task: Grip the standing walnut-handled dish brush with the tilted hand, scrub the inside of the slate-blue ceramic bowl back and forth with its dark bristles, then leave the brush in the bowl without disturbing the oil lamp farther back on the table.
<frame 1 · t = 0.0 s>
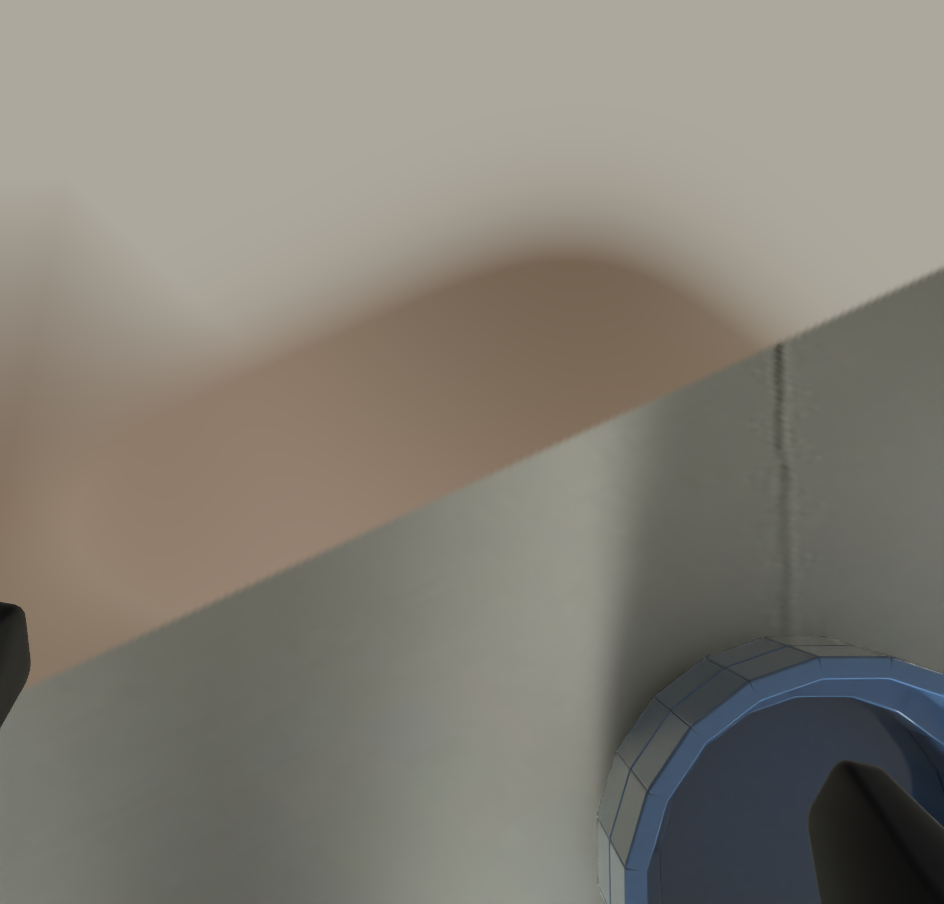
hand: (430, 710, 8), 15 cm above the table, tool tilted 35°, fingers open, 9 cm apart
bowl: (792, 837, 23), on the table
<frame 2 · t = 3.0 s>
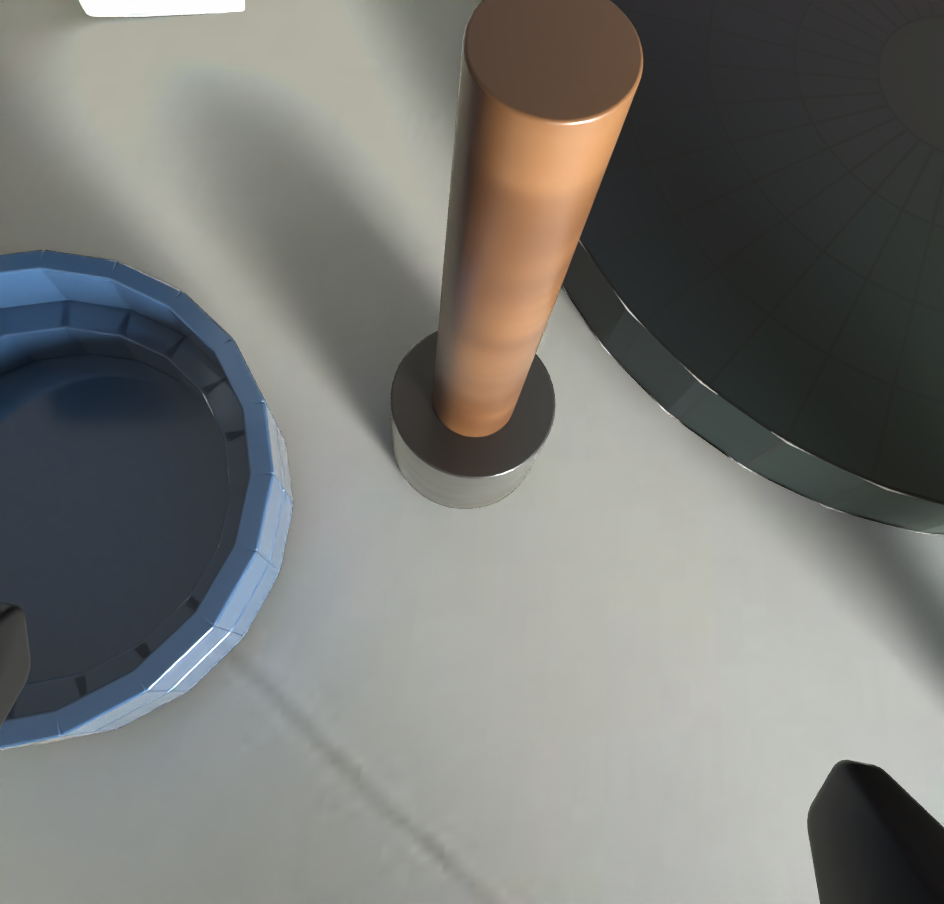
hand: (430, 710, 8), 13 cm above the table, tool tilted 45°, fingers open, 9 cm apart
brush: (464, 439, 23), on the table
disc: (906, 148, 28), on the table
bowl: (78, 513, 22), on the table
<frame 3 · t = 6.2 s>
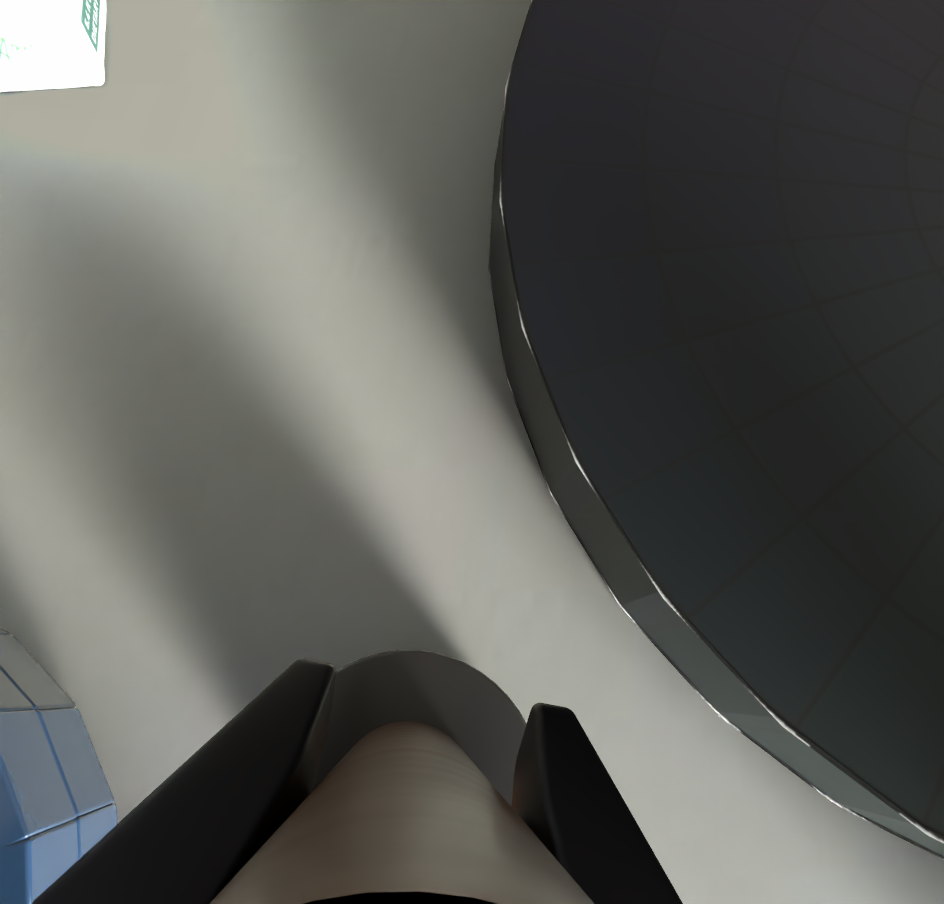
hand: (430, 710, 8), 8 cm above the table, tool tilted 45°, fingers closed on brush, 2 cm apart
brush: (405, 771, 15), on the table, touching gripper
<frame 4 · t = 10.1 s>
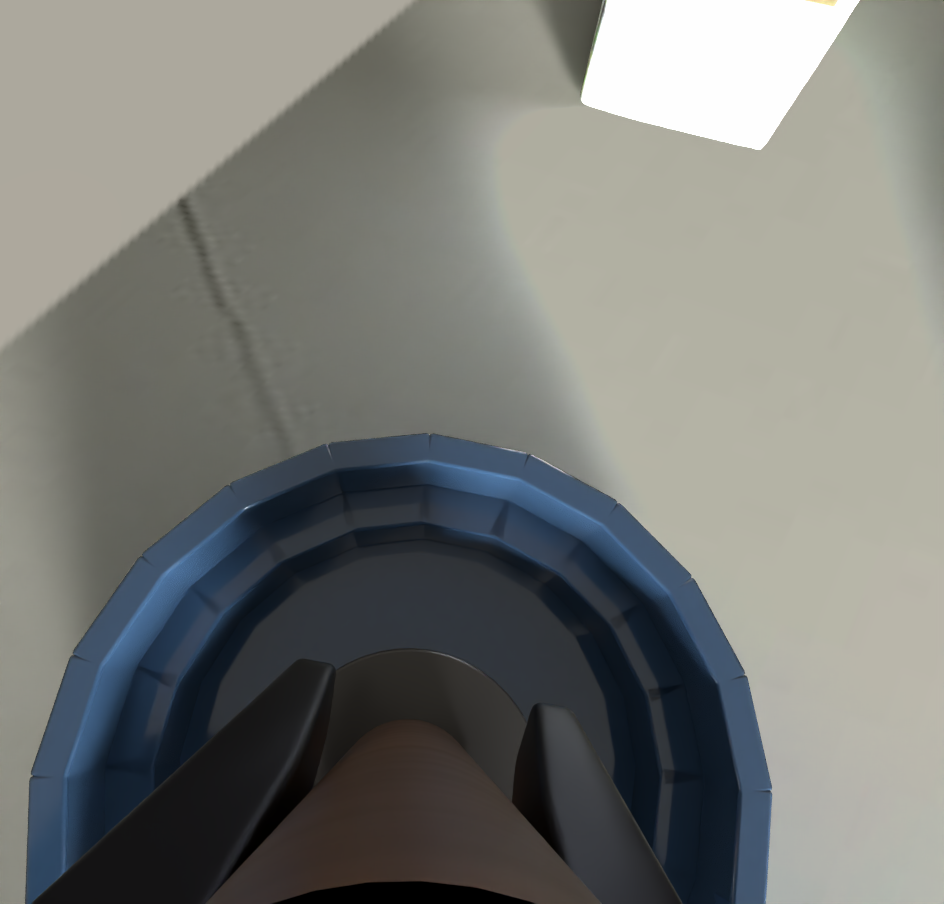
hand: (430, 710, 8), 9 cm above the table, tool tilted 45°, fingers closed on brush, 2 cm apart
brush: (406, 770, 15), point 1 cm above the table, touching gripper
bowl: (412, 760, 16), on the table
syrup box: (678, 62, 23), on the table
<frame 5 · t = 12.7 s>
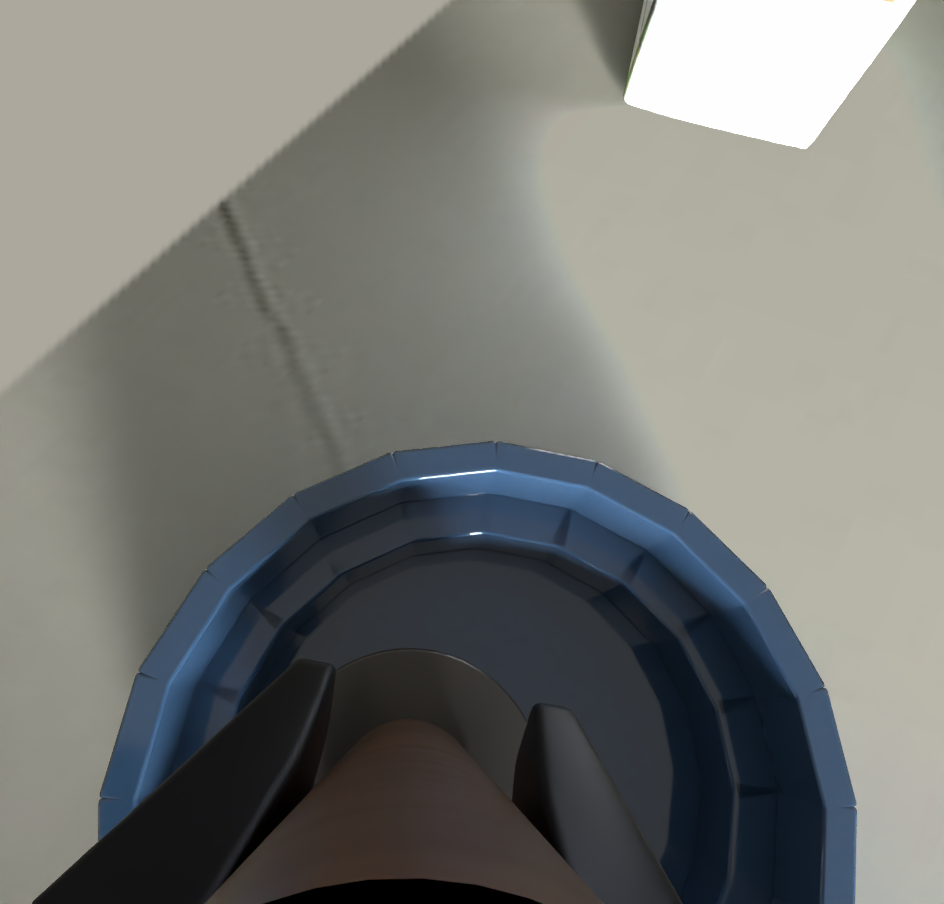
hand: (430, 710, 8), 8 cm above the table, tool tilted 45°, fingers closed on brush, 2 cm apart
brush: (406, 770, 15), point 1 cm above the table, touching gripper
bowl: (471, 774, 16), on the table
syrup box: (720, 60, 23), on the table
when the fingers open (8 cm above the table, at t = 14.5 s): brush stays where it is, resting on bowl.
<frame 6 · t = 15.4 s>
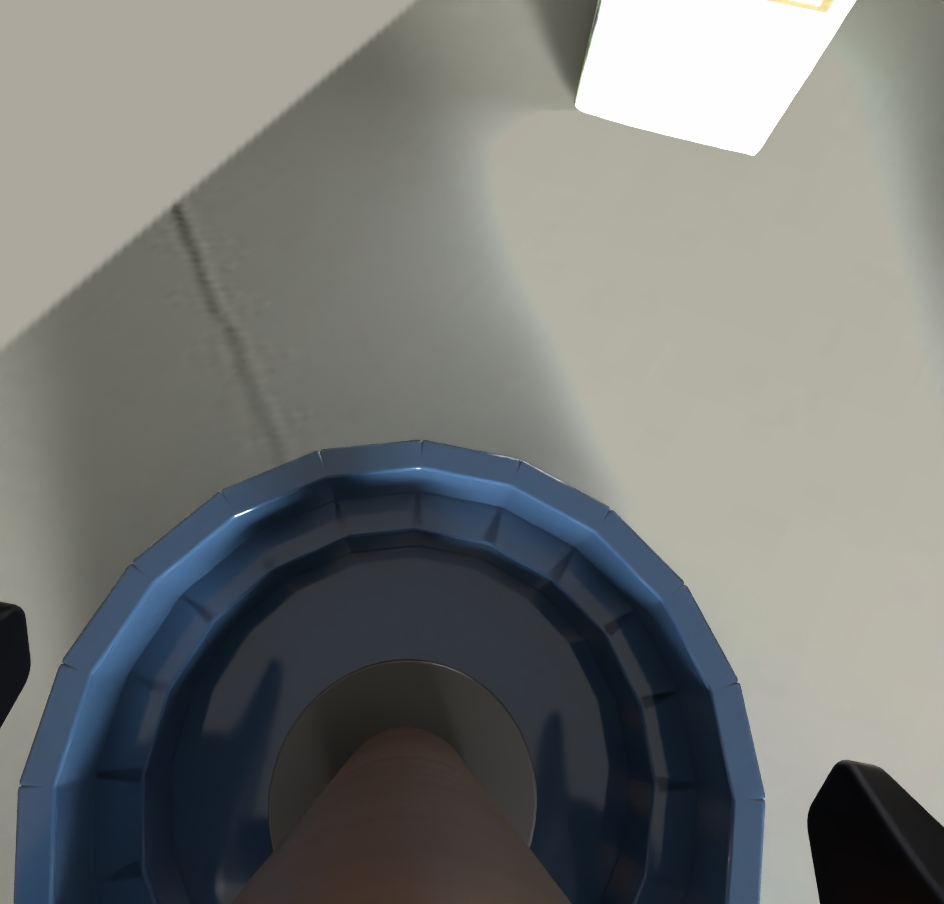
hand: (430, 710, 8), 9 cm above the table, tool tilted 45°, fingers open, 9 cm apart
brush: (405, 774, 16), point 1 cm above the table, touching bowl
bowl: (405, 768, 16), on the table
syrup box: (673, 68, 23), on the table
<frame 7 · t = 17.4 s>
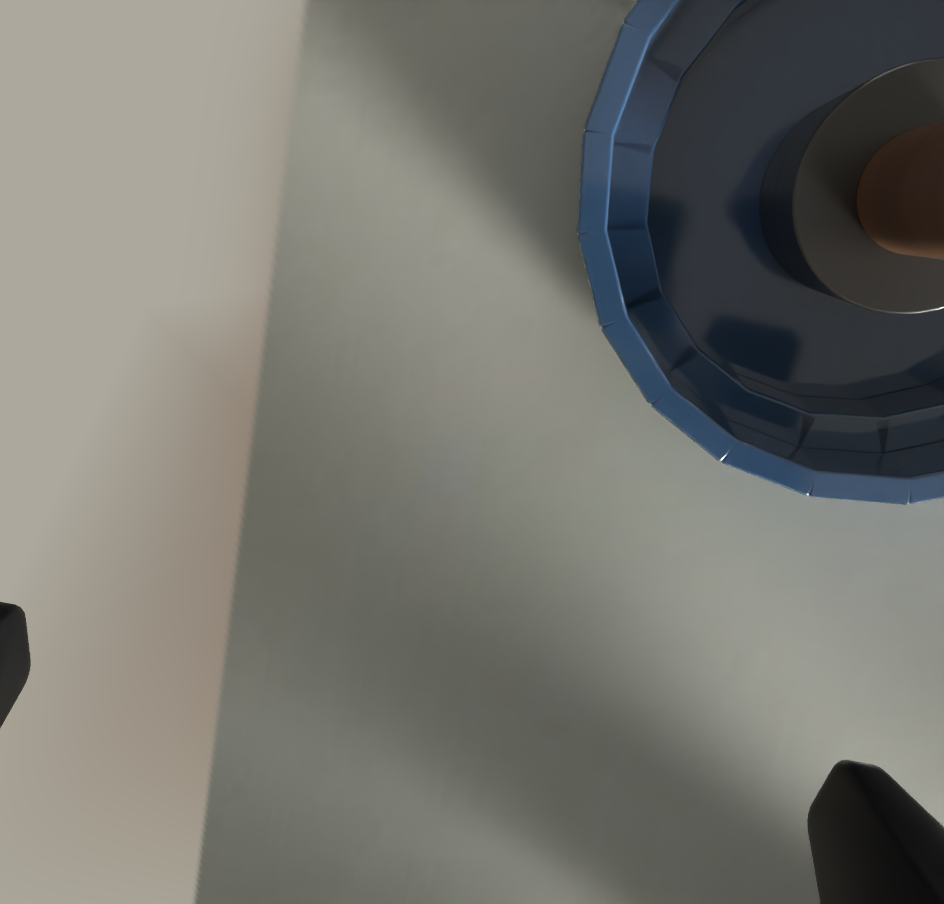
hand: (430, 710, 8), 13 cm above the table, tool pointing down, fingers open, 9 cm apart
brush: (862, 196, 17), point 1 cm above the table, touching bowl
bowl: (853, 194, 17), on the table
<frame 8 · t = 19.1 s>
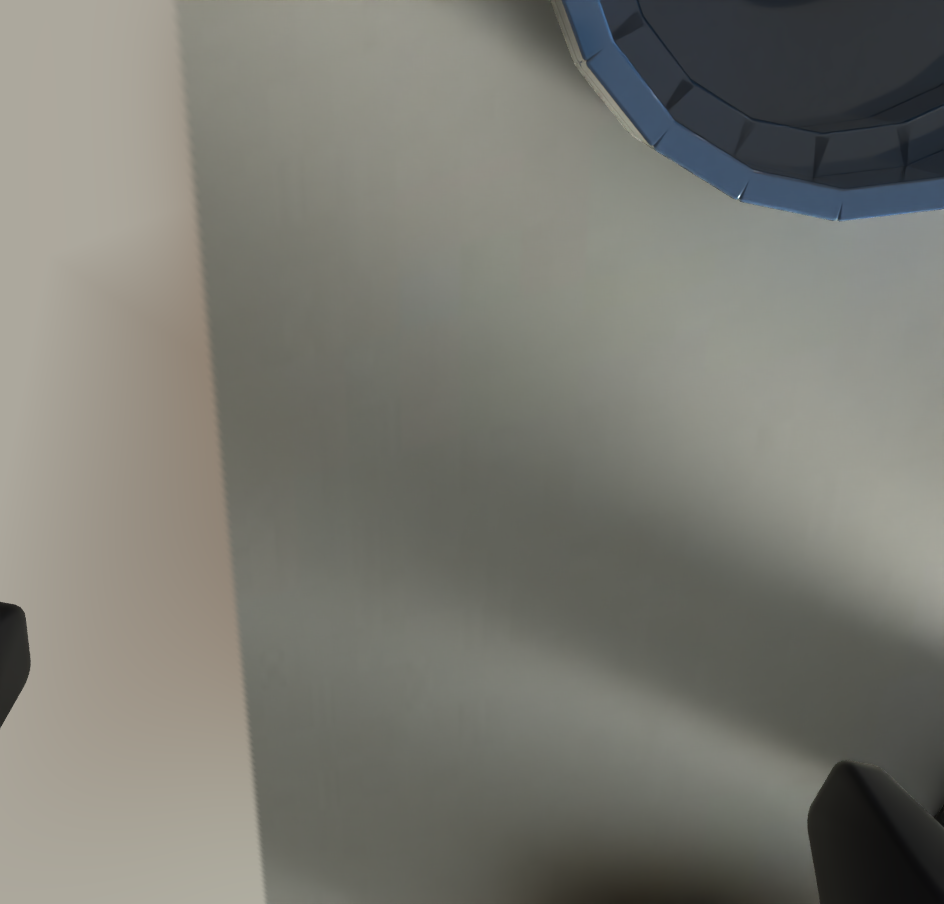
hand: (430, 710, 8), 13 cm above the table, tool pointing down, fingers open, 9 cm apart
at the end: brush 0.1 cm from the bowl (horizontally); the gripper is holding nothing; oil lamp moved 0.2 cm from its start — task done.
